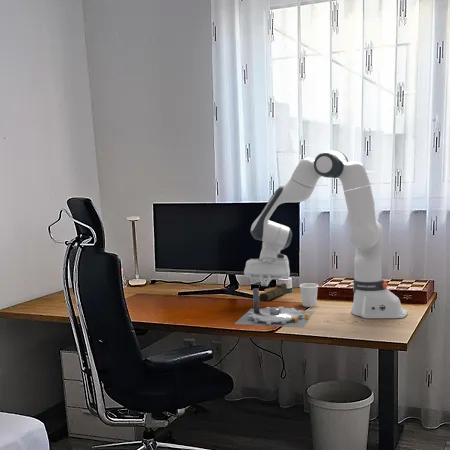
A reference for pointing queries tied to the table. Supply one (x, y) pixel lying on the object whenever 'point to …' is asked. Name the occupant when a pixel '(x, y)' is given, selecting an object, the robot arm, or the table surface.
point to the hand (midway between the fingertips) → (264, 285)
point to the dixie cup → (309, 294)
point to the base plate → (299, 323)
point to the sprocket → (272, 313)
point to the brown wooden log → (274, 293)
